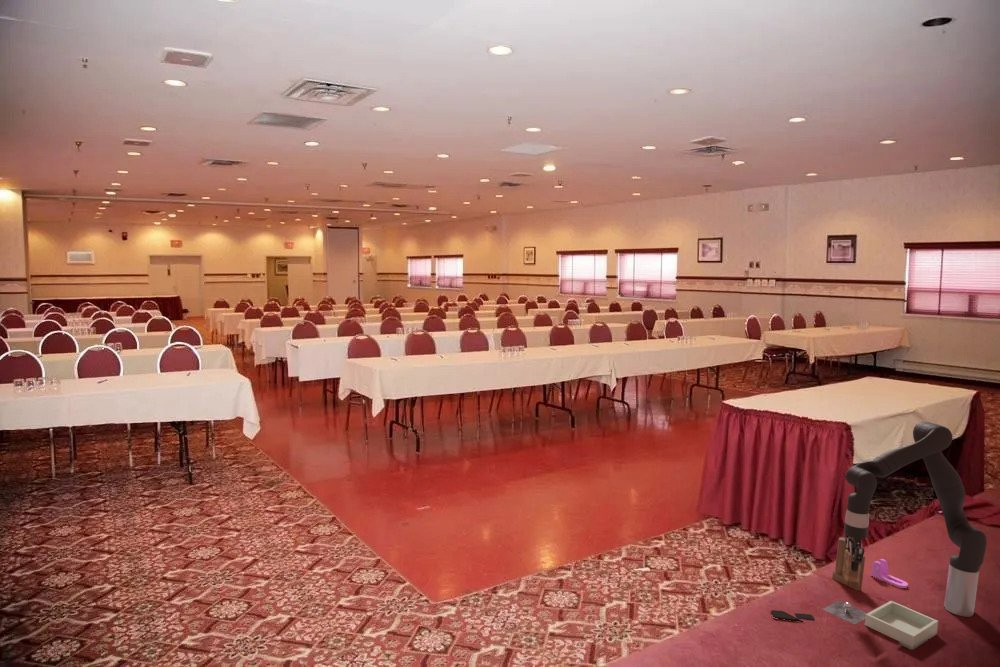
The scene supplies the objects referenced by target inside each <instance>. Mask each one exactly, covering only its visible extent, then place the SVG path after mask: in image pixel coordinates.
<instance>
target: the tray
mask: <svg viewBox="0 0 1000 667" xmlns="http://www.w3.org/2000/svg"><path fill="white" fill-rule="evenodd" d="M866 613H867V614H866V617H865V619H864V626H866V627H867V628H870V629H872V630H875V631H877V632H879V633H881V634H882V635H885V636H887V637H890V638H891V639H894V640H896V641H897V642H898V643H897V644H898V645H901V646H902V647H904V648H907V649H909V650H911V651H914V650H915V649H916V648H918V647H920V646H921V645H922V644H924V643H926V642H928V641H929V640H930V639H932V638H933V637H935V636H937V634H938V627H939V620H938V619H935V618H932V617H931V616H928V615H926V614H923V613H921V612H918V611H916V610H914V609H911V608H909V607H907V606H905V605H903V604H900V603H898V602H895V601H893V600H889V601H888V602H886V603H883V604H882V605H881V606H878V607H876V608H875V609H872V610H871V611H869V612H866ZM928 639H929V640H928Z"/></svg>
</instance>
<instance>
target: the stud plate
mask: <svg viewBox="0 0 1000 667" xmlns="http://www.w3.org/2000/svg"><path fill="white" fill-rule="evenodd" d="M822 610H823V611H825V612H827V613H830V614H832V615H833V616H836V617H837V618H839V619H842V620H843V621H845V622H848V623H850V624H851V625H857V624H859V623H860V622H862V621H865V617H866V614H867V613H868V612H866V611H865V610H862V609H859V608H858V607H855V606H853V605H852V604H851V603H850V602H847V601H846V602H845V601H842V600H838V601H836V602H834V603H832V604H830V605H828V606H826V607H824V608H822Z"/></svg>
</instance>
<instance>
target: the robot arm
mask: <svg viewBox="0 0 1000 667" xmlns="http://www.w3.org/2000/svg"><path fill="white" fill-rule="evenodd" d="M912 437H913V440H914V442H913V443H910V444H907V445H904V446H901V447H897V448H893V449H889V450H888V451H885V452H884V453H881V454H880V455H878V456H876V457H875V458H873V459H872V460H871V459H870V460H866V461H864V462H863V461H862V462H860V463H857V464H855V465H852V466H851V467H849V469H847V471H846V473H845V479H846V482H847V483H848V484H849V485H851V486H853V487H855V488H857V491H856V492H852V493H850V494H848V497H847V504H846V512H845V518H844V527H843V534H844V538H845V549H846V550H850V554H852V563H851V570H852V571H858V566H859V562H862V559H863V557H864V555H865V551H866V550H865V548H862V547H863V542H862V540H865V539H866V538H867V537H868V532H869V523H870V513H869V512H870V508H871V507H870V505H871V504H870V503H871V501H872V499H873V496H874V494H875V491H876V488H877V485H878V480H877V478H885V477H888V476H889V475H891V474H893V473H894V472H897V471H898V470H900V469H902V468H904V467H905V466H907V465H909V464H911V463H914V462H916V461H920V460H921V459H922V460H923V462H924V465H925V467H926V470H927V472H928V475H929V477H930V481H931V483H932V487H933V490H934V492H935V495H936V497H937V500H938V503H939V506H940V508H941V511H942V514H943V518H944V522H945V526H946V532H947V535H948V538H949V540H950V541H951V543H953V544H954V545H955V546H957V547H958V548H959V554H953V555H951V556H950V559H949V565H948V572H947V582H946V589H945V595H944V604H943V608H944V607H945V608H944V609H945V610H946V611H948V612H949V613H950V614H951V613H952V614H953V615H956V616H959V617H967V618H968V617H969V618H970V617H972V616H973V615H974V614H975V605H976V604H975V603H976V597H977V592H978V590H977V589H978V583H979V574H980V568H981V567H982V565H983V563H984V560H985V555H986V551H987V544H988V542H987V536H986V534H985V532H983V531H982V530H980V529H979V528H977V527H975V526H973V525H972V524H970V522H969V520H968V518H967V517H966V513H965V511H964V504H965V500H966V490H965V487H964V484H963V480H962V478H961V477H960V475H959V474H960V473H958V471H957V470H956V469H955V468H954V467H953V465H952V464H951V463H950V462H949V460H948V459H947V458H946V457H945V456H944V454H943V452H942V451H944V450H945V449H947V448H949V446H950V445H951V444H952V442H953V433H952V431H951V430H950V429H949V428H948V427H946V426H945V425H941V424H938V423H937V424H936V423H933V422H930V421H920V422H917V423H916V424H915V426H914V427H913V430H912ZM853 551H855V552H853ZM857 557H858V558H857Z"/></svg>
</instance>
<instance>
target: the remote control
mask: <svg viewBox="0 0 1000 667" xmlns="http://www.w3.org/2000/svg"><path fill="white" fill-rule="evenodd" d="M771 613H772V615H773V617H775V618H778V619H785V620H791V621H790V622H793V621H801V622H800V623H802V622H804V621H805V620H806V621H812V622H815V621H816V619H815V617H814V615H813V614H810V613H794V615H795V616H793V615H791V614H790V613H787V612H786V611H783V610H776V609H775V610H774V609H771V611H770V614H771ZM785 620H784V621H785ZM803 620H804V621H803Z"/></svg>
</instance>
